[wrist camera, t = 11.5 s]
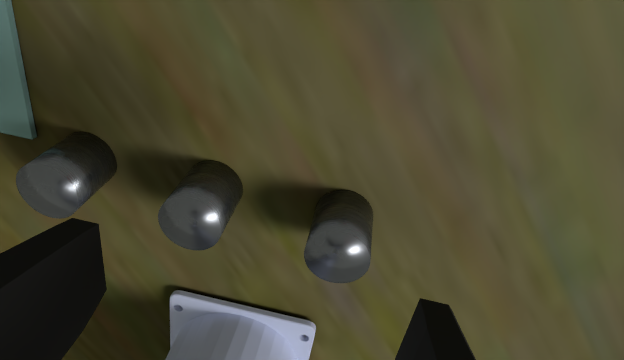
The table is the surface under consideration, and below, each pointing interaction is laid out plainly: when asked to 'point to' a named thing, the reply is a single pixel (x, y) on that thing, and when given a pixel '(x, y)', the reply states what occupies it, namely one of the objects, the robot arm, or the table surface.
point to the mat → (13, 80)
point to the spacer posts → (198, 205)
